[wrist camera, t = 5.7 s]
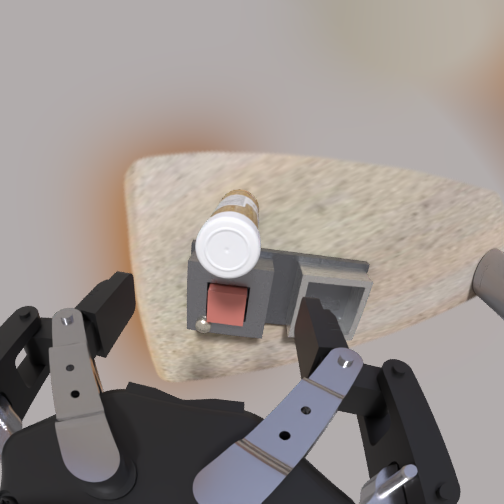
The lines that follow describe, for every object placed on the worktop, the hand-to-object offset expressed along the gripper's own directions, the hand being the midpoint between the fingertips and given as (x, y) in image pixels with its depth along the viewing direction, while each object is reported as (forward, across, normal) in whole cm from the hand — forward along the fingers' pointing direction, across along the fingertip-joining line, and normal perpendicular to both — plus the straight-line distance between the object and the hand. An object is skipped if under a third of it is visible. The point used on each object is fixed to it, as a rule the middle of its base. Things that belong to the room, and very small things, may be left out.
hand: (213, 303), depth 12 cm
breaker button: (+19, 0, +10) cm, 21 cm away
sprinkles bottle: (+20, 0, 0) cm, 20 cm away
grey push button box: (+20, -6, +10) cm, 23 cm away
